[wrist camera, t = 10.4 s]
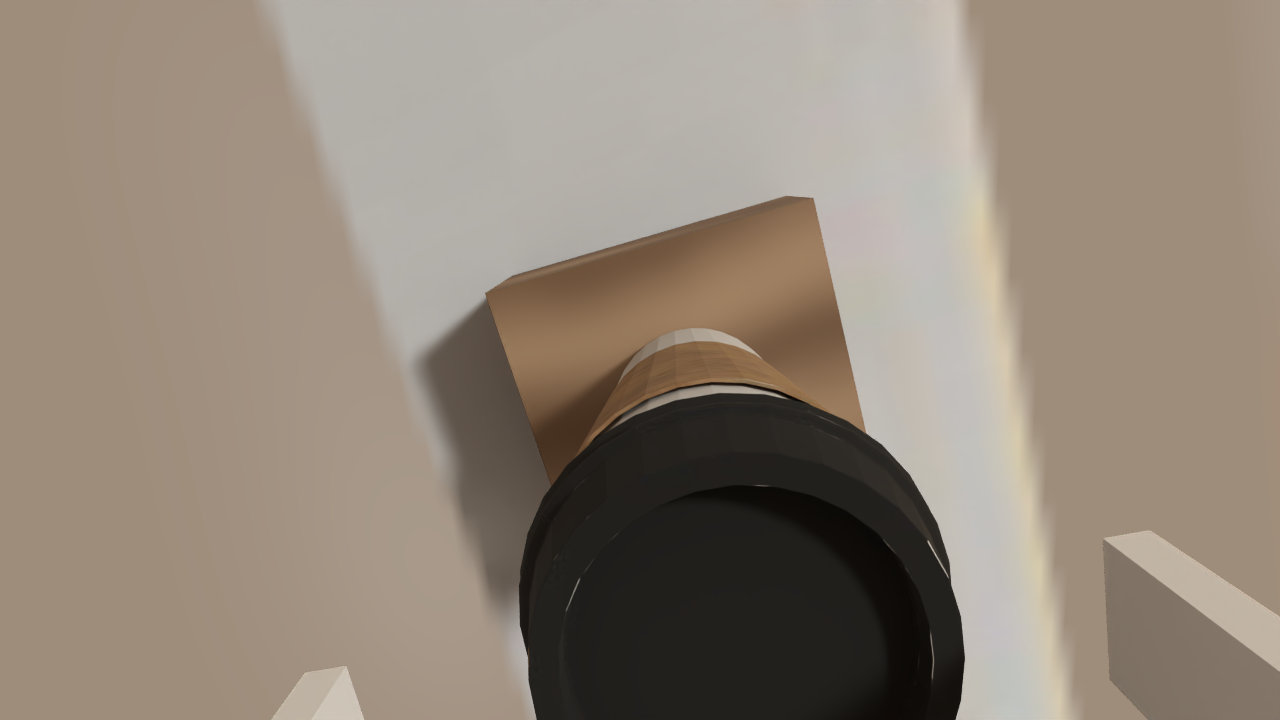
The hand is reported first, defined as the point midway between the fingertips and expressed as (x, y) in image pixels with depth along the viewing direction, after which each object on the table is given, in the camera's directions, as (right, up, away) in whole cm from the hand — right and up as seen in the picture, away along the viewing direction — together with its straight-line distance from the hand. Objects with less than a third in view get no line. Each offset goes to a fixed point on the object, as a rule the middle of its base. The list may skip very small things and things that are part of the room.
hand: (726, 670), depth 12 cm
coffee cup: (+1, +4, +14) cm, 15 cm away
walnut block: (0, +5, +19) cm, 19 cm away
